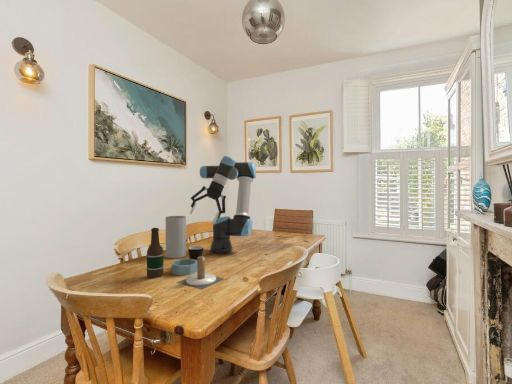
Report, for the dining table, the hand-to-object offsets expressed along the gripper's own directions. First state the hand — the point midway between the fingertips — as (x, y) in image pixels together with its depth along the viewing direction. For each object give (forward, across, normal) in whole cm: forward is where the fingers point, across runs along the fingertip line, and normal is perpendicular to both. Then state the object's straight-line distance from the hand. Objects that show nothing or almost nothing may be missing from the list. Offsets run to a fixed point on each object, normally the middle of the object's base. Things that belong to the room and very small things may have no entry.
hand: (202, 218), depth 148 cm
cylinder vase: (+30, +1, +30) cm, 43 cm away
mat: (+26, +8, -21) cm, 34 cm away
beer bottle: (+35, -10, -6) cm, 37 cm away
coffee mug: (+26, +10, +8) cm, 28 cm away
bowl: (+28, +3, -4) cm, 29 cm away
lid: (+26, +8, -21) cm, 34 cm away
